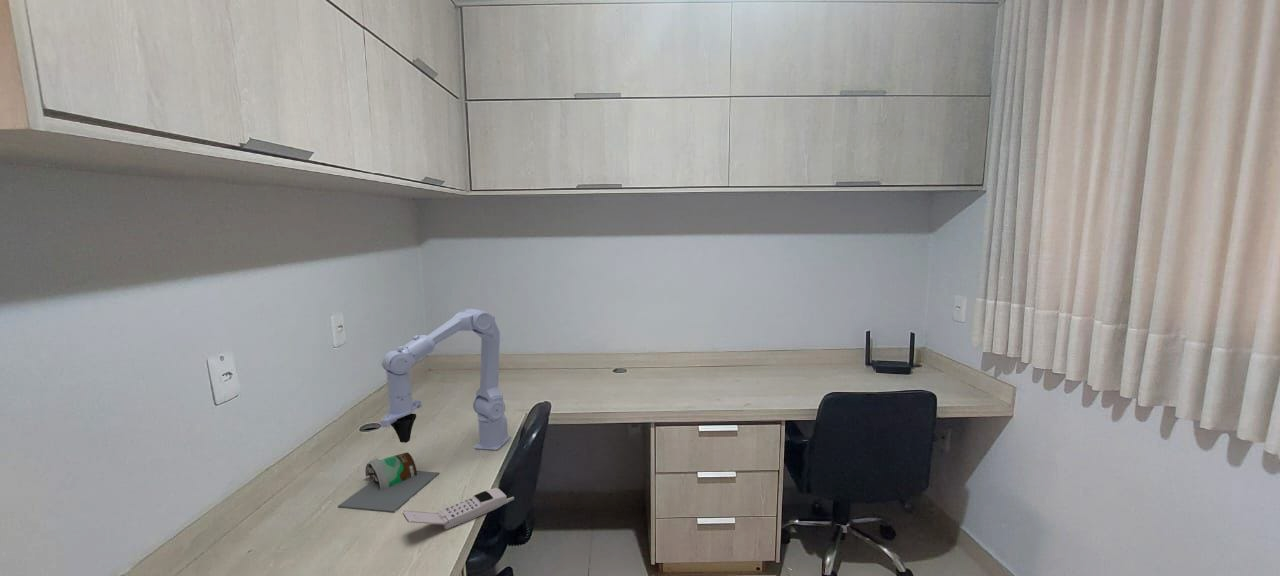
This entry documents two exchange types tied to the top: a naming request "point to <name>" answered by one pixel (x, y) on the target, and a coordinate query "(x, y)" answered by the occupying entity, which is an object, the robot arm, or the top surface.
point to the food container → (391, 470)
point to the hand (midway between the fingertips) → (405, 441)
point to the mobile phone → (461, 509)
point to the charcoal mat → (388, 494)
